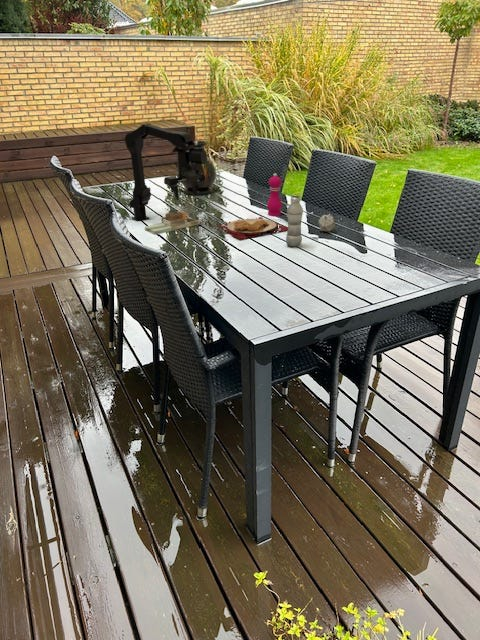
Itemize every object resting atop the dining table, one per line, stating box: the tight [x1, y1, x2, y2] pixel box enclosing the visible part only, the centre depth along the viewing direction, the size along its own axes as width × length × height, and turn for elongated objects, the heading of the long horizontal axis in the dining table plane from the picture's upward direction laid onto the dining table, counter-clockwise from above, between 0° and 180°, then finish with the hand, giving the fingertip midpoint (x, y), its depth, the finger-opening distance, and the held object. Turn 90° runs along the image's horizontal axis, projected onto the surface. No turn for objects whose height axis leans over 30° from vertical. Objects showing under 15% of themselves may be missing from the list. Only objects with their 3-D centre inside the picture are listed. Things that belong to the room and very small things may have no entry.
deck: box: [144, 216, 201, 235], centre depth 224 cm, size 9×24×4 cm, turn 129°
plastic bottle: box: [285, 195, 304, 247], centre depth 195 cm, size 6×7×20 cm
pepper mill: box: [266, 173, 283, 217], centre depth 237 cm, size 7×7×20 cm
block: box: [165, 211, 179, 222], centre depth 223 cm, size 4×4×4 cm
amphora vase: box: [180, 140, 217, 196], centre depth 279 cm, size 22×22×28 cm
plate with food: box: [217, 216, 288, 240], centre depth 221 cm, size 25×26×4 cm
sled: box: [163, 210, 187, 226], centre depth 224 cm, size 6×9×4 cm, turn 129°
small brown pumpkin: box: [315, 212, 338, 233], centre depth 213 cm, size 9×8×10 cm
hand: (186, 198), depth 223 cm, fingers open, 9 cm apart
